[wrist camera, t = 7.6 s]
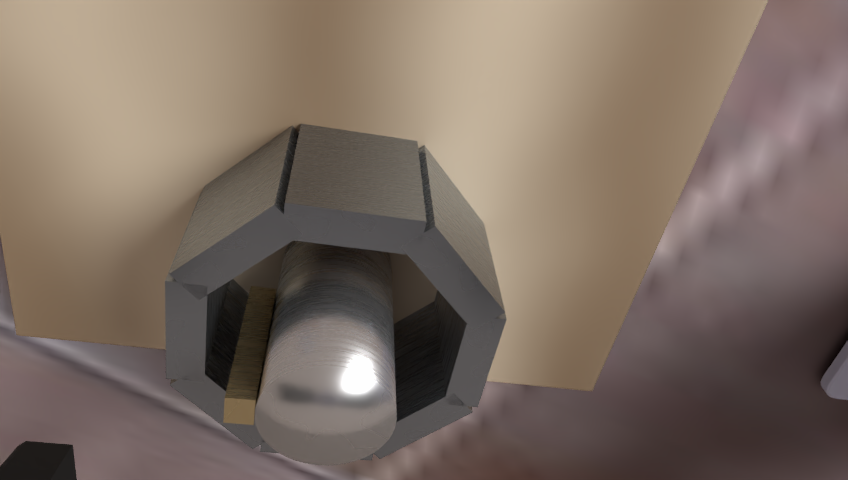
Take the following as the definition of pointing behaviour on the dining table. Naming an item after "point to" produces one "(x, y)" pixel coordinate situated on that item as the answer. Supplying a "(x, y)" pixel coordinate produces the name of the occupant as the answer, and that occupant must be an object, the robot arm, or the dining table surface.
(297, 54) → the board
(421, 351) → the ring hub
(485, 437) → the dining table surface
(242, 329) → the steel post
